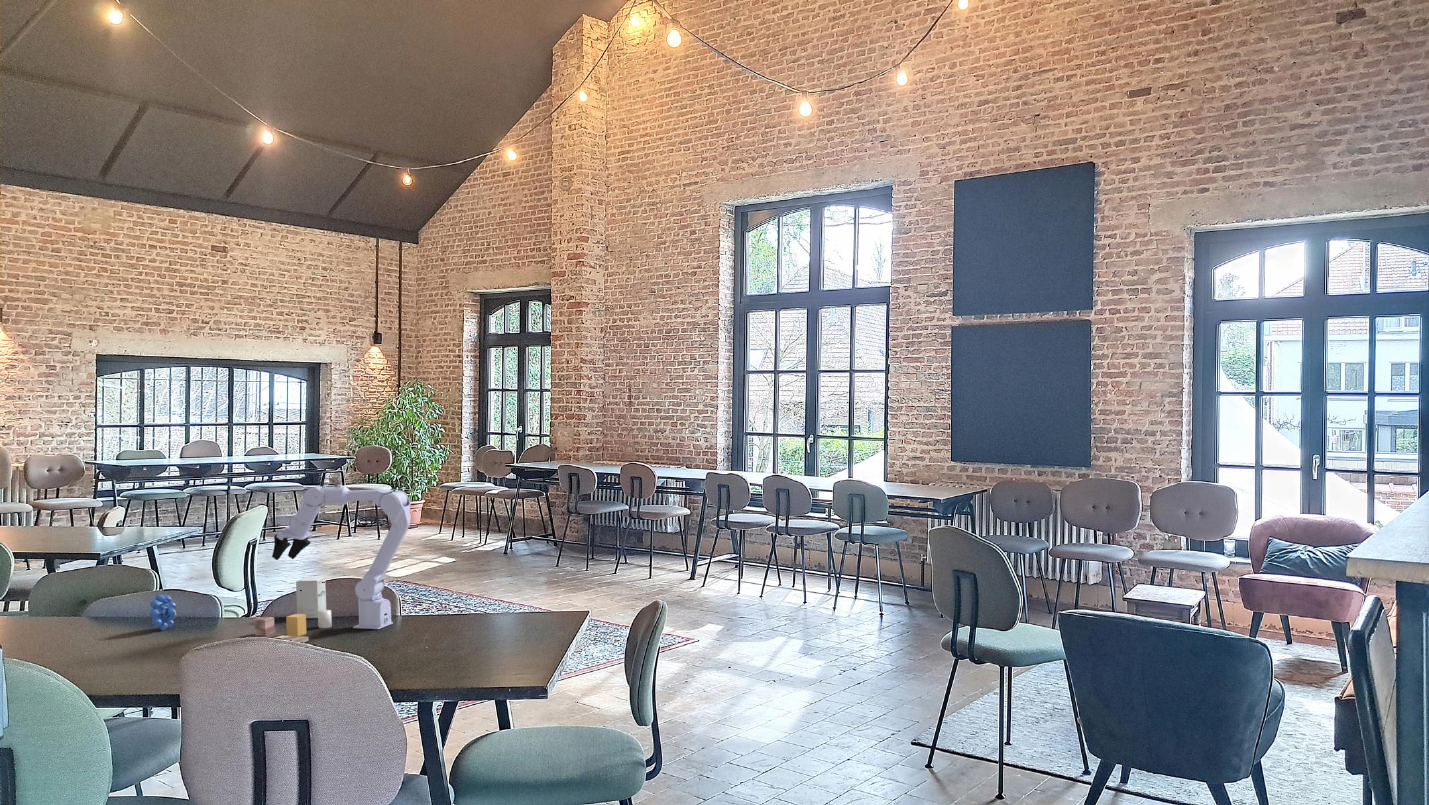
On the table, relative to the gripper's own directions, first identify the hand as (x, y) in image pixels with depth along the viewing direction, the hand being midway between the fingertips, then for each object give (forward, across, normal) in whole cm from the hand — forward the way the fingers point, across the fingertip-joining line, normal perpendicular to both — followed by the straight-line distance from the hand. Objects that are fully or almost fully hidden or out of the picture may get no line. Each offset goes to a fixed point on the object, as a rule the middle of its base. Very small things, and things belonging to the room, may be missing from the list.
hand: (282, 557), depth 325 cm
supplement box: (+19, -20, +8) cm, 29 cm away
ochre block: (+16, +4, +20) cm, 26 cm away
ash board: (+15, +15, +24) cm, 32 cm away
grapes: (+40, +5, -22) cm, 45 cm away
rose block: (+21, +5, +10) cm, 24 cm away
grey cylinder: (+13, -7, +21) cm, 26 cm away
